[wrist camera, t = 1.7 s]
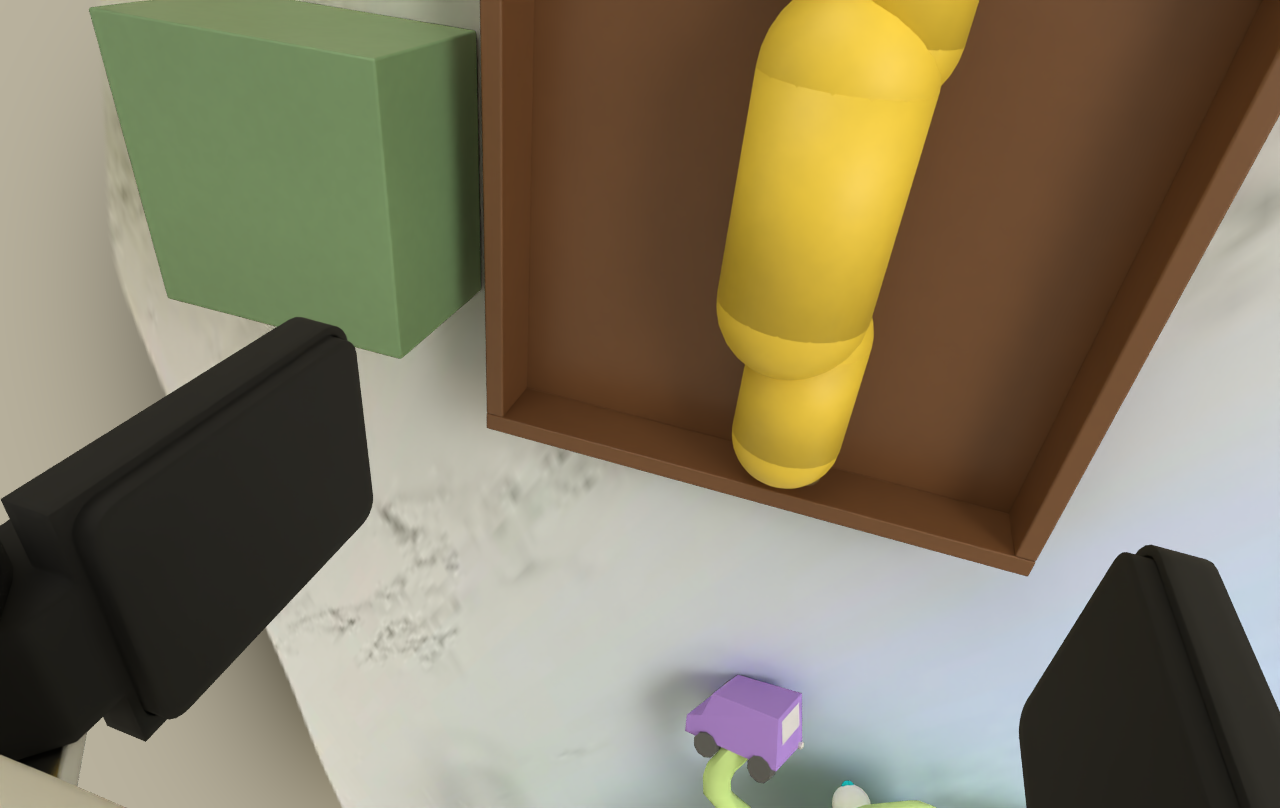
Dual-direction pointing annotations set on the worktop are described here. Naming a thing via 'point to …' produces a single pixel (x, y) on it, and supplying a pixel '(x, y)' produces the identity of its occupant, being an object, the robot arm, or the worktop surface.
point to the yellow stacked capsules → (824, 213)
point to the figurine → (757, 741)
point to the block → (303, 160)
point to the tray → (920, 259)
